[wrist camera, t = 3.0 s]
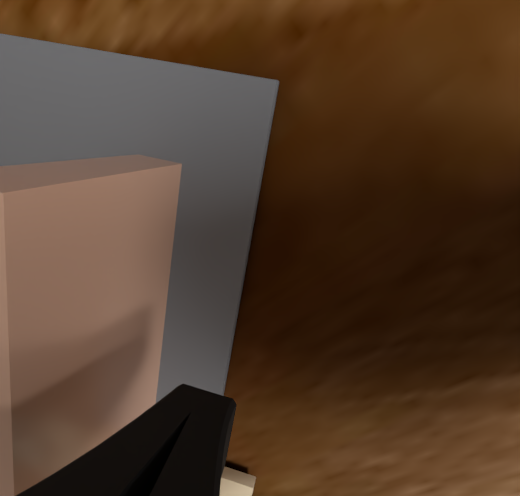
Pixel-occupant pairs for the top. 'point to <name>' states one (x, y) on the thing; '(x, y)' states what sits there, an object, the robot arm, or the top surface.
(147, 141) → the mat
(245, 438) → the top surface
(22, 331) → the block
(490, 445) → the top surface
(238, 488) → the turner
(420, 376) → the top surface
